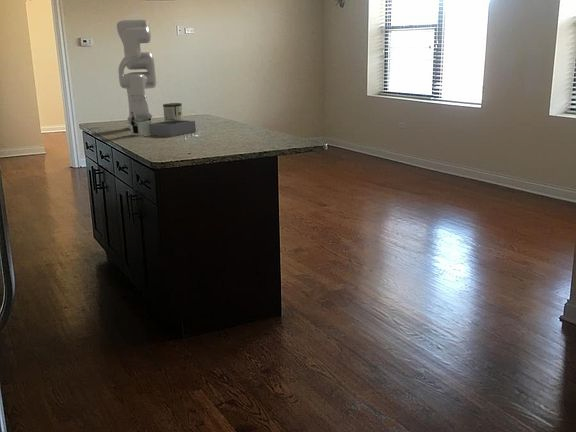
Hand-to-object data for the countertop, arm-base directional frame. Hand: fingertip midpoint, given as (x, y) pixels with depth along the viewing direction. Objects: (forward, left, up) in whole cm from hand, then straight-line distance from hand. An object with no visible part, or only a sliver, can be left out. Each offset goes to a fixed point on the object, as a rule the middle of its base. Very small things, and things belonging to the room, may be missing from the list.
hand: (141, 131), depth 341 cm
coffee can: (+1, +23, -2) cm, 23 cm away
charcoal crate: (+15, +9, -1) cm, 17 cm away
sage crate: (0, 0, -1) cm, 1 cm away
